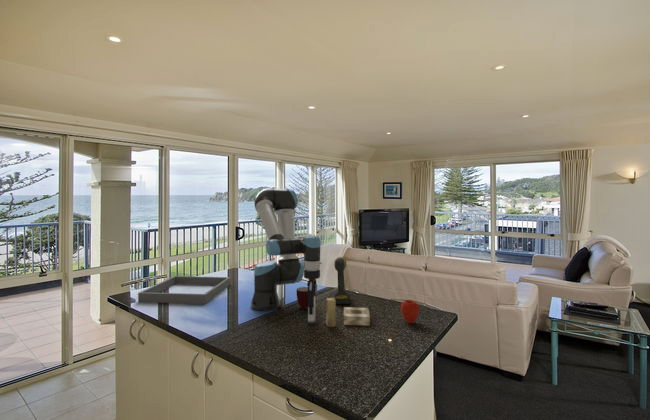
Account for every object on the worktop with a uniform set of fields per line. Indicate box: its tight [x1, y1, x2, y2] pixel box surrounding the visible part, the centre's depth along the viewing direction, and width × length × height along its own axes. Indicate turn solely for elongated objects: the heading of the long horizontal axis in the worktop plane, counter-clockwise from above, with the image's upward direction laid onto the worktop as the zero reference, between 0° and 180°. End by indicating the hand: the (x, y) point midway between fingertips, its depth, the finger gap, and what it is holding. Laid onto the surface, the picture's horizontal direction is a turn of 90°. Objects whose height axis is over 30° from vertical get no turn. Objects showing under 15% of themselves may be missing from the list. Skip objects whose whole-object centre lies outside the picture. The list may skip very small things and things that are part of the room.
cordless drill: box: [333, 256, 351, 305], centre depth 182 cm, size 9×20×25 cm, turn 174°
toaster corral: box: [137, 275, 231, 305], centre depth 195 cm, size 38×38×5 cm
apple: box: [400, 299, 420, 324], centre depth 151 cm, size 9×8×11 cm
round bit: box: [307, 296, 317, 324], centre depth 151 cm, size 3×3×12 cm
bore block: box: [343, 306, 371, 326], centre depth 154 cm, size 12×12×4 cm
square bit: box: [325, 297, 337, 328], centre depth 147 cm, size 4×4×12 cm
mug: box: [296, 286, 308, 310], centre depth 169 cm, size 11×8×10 cm
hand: (311, 318), depth 151 cm, fingers open, 5 cm apart
